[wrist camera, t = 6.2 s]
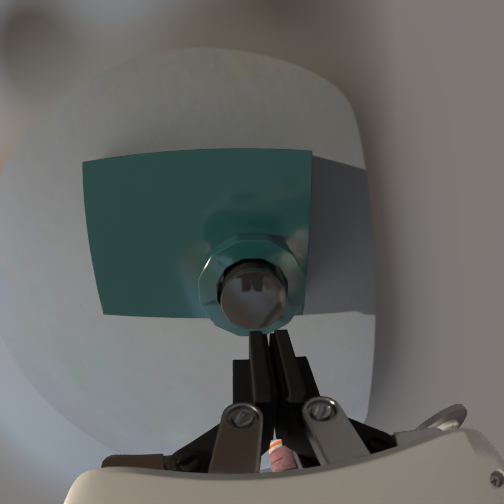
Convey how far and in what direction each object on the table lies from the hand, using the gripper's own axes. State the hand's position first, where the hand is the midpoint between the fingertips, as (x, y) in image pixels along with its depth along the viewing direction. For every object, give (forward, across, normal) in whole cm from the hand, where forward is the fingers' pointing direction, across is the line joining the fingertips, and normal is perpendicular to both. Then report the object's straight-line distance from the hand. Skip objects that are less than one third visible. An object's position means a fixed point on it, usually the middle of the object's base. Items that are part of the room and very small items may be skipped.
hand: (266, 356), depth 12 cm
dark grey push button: (+7, 0, 0) cm, 7 cm away
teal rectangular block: (+11, +4, -3) cm, 12 cm away
